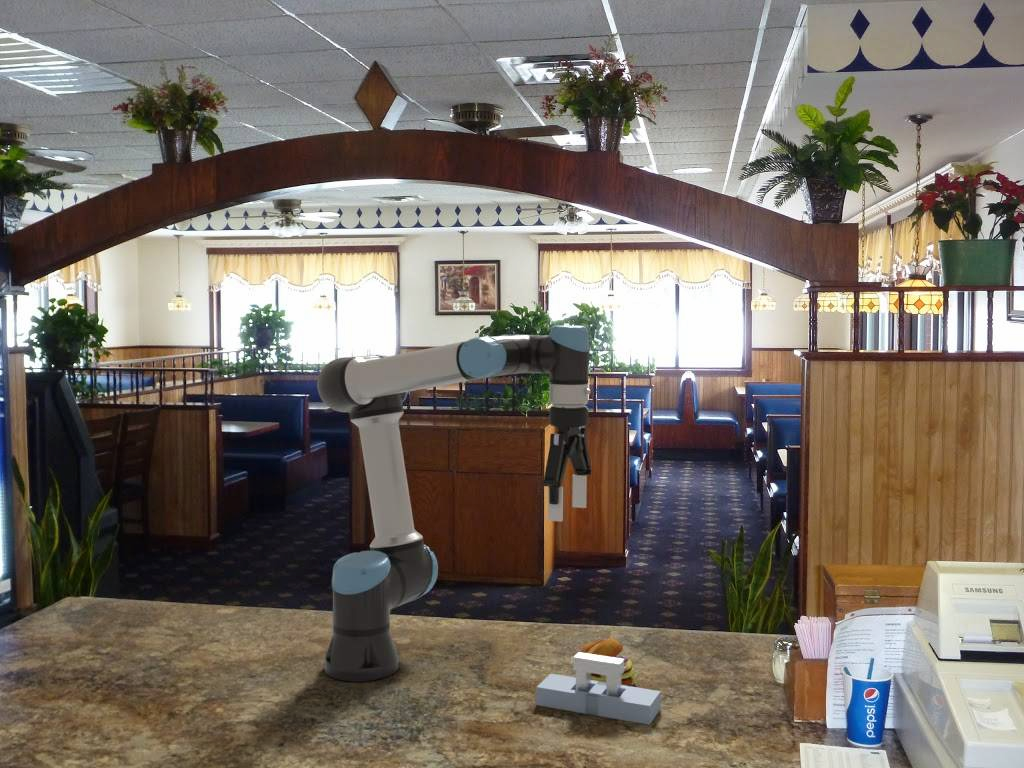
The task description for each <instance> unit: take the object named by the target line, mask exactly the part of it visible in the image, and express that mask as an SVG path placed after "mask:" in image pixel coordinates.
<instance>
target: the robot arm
mask: <svg viewBox="0 0 1024 768" xmlns="http://www.w3.org/2000/svg"><path fill="white" fill-rule="evenodd" d="M590 350H591V348H590V338H589V330H588V328H587V327H586V326H583V325H553V326H551V327H550V330H549V334H548V335H546V334H545V335H539V334H537V335H536V334H535V335H534V334H520V333H510V334H509V333H508V334H501V335H498V336H488V335H484V336H476V337H474V338H473V337H472V338H470V339H469V340H466V341H459V342H455V343H449V344H444V345H439V346H434V347H430V348H424V349H419V350H414V351H410V352H404V353H399V354H395V355H394V354H393V355H383V354H382V355H381V354H370V355H363V356H362V355H360V356H348V357H347V356H346V357H338V358H335V359H333V360H331V361H330V362H327V364H325V365H324V366H323V368H322V369H321V370H320V373H319V374H318V376H317V377H318V378H317V383H316V385H317V392H318V395H319V397H320V399H321V401H322V402H323V403H324V405H325V406H327V407H328V408H330V409H332V410H333V411H336V412H339V413H349V419H350V422H351V423H352V424H354V425H355V426H356V427H357V428H358V430H359V437H360V445H361V451H362V456H363V464H364V469H365V476H366V483H367V489H368V495H369V503H370V509H371V516H372V522H373V528H374V535H375V537H374V538H373V540H372V542H371V543H370V544H369V549H370V550H361V551H360V552H356V551H355V552H352V553H349V554H345V555H344V556H342V557H340V558H338V560H337V561H336V562H335V563H334V565H333V567H332V568H333V569H332V577H331V589H332V591H331V594H332V595H331V596H332V635H331V639H330V642H329V645H328V647H327V651H326V654H325V658H324V672H325V674H326V675H327V676H328V677H330V678H333V679H334V680H335V679H336V680H340V681H345V682H371V681H376V680H380V679H383V678H387V677H389V676H391V675H393V674H395V673H396V672H397V671H398V669H399V655H398V652H397V649H396V645H395V642H394V639H393V635H392V634H391V618H390V617H391V616H390V615H391V610H392V609H396V608H398V607H400V606H402V605H405V604H408V603H409V602H414V601H416V600H418V599H420V598H421V597H422V596H424V595H427V594H428V593H429V592H430V591H431V589H433V587H434V586H435V585H436V581H437V579H438V574H439V565H438V560H437V557H436V555H435V553H434V551H431V548H430V547H429V546H427V545H426V544H425V542H424V537H423V535H422V534H421V533H420V532H418V531H417V530H416V529H415V525H414V524H415V523H414V519H413V518H414V517H413V511H412V504H411V497H410V493H409V492H410V490H409V485H408V478H407V477H408V476H407V472H406V465H405V459H404V450H403V445H402V439H401V438H402V437H401V432H400V425H399V421H400V419H401V417H402V416H403V414H404V413H405V412H404V405H403V403H404V401H406V399H407V395H409V393H410V392H413V391H418V390H424V389H430V388H435V387H440V386H441V387H442V386H447V385H451V384H456V383H463V382H470V381H477V380H483V379H487V378H492V377H494V378H495V377H500V376H509V375H510V376H511V375H518V374H543V375H545V374H547V375H548V374H549V390H548V391H549V393H548V394H549V395H548V397H549V399H548V403H550V404H551V406H550V407H549V411H548V412H549V414H548V415H549V420H548V421H549V422H548V423H549V425H550V426H552V427H556V428H557V432H556V433H551V434H550V436H549V449H548V455H547V459H546V466H545V471H544V476H543V482H542V485H543V487H546V488H547V487H548V488H547V489H548V490H547V492H548V493H547V497H548V498H547V500H548V501H547V521H551V522H559V523H560V522H563V521H564V486H562V483H563V479H564V477H565V472H566V469H567V465H568V461H569V459H570V462H571V464H572V468H573V471H574V474H572V495H571V496H572V508H579V509H586V508H587V484H588V483H587V482H588V481H587V477H588V476H590V475H592V466H591V460H590V453H589V447H588V441H587V428H586V427H587V426H588V424H589V408H588V406H586V405H588V403H589V394H591V388H590V389H589V367H590V366H589V365H590V363H589V362H590Z"/></svg>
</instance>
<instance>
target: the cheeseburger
mask: <svg viewBox="0 0 1024 768" xmlns="http://www.w3.org/2000/svg"><path fill="white" fill-rule="evenodd" d="M623 649H624V646H623V644H622V643H621V642H620V641H619V640H617V639H615V638H611V637H608V638H607V637H606V638H605V639H600V640H596V641H591V642H588V643H585V644H584V645H582V647H581V648H580V650H579V652H581V653H588V654H595V655H601V656H608V657H615V658H621V659H624V673H623V674H622V675H621V685H625V686H631V687H633V685H635V683H636V681H637V680H638V679H637V674H636V673H635V668H634V667H633V666H634V664H633V662H632V660H630V659H629V658H628V657H627V656H624V655H620V653H621V652H622V651H623ZM591 680H594V681H600V682H606V675H601V674H594V673H591Z"/></svg>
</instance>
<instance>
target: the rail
mask: <svg viewBox="0 0 1024 768" xmlns="http://www.w3.org/2000/svg"><path fill="white" fill-rule="evenodd" d="M535 690H536V695H535V696H536V699H535V701H536V706H540V707H545V708H550V709H551V708H552V709H557V710H561V711H562V710H563V711H569V712H575V713H581V714H586V715H591V716H592V715H593V716H597V717H604V718H609V719H615V720H620V721H626V722H631V723H632V722H633V723H637V724H642V725H649V726H650V725H651V723H652V722H653V721H654V719H655V718H656V717H657V715H658V713H659V712H660V710H661V700H662V699H661V695H662V692H661V690H656V689H655V690H654V689H650V688H649V689H647V688H642V687H635V686H631V685H629V686H625V685H621V696H620V697H613V696H607V695H606V682H600V681H594V680H591V690H590V691H589V692H583V691H577V690H576V676H575V677H574V676H567V675H562V674H555V673H550V674H548V676H546V677H545V679H543V680H542V681H541V682H540V683H539V684H538V685H536V689H535Z"/></svg>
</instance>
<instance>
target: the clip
mask: <svg viewBox="0 0 1024 768" xmlns="http://www.w3.org/2000/svg"><path fill="white" fill-rule="evenodd" d="M572 667H573V668H572V670H573V671H575V678H576V690H577V691H583V692H589V691H590V690H591V673H594V674H601V675H606V695H607V696H613V697H620V696H621V675H622V674H623V673H624V659H621V658H615V657H608V656H601V655H595V654H588V653H581V652H580V651H579V652H577V653H576V654H575V655H574V656H573V666H572Z"/></svg>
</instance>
